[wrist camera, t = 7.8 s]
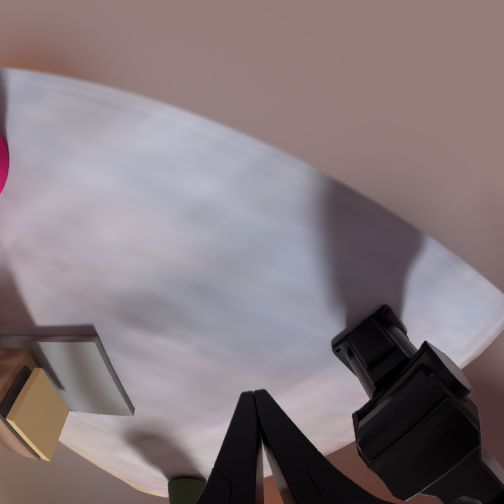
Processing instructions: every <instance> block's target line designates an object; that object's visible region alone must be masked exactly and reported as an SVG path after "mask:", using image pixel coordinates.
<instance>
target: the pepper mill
mask: <svg viewBox="0 0 504 504" xmlns="http://www.w3.org/2000/svg"><path fill="white" fill-rule="evenodd" d="M8 167H9V163H8V152H7V146H6V144H5V141H4V139H3V138H2V136H1V135H0V193H1V191H2V190H3V188H4V185H5V182H6V179H7V174H8Z"/></svg>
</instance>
